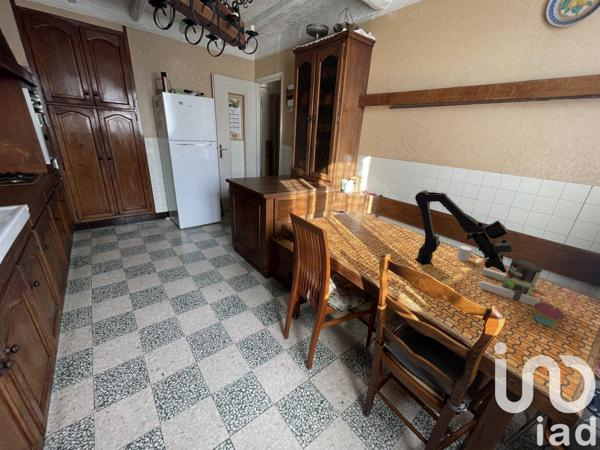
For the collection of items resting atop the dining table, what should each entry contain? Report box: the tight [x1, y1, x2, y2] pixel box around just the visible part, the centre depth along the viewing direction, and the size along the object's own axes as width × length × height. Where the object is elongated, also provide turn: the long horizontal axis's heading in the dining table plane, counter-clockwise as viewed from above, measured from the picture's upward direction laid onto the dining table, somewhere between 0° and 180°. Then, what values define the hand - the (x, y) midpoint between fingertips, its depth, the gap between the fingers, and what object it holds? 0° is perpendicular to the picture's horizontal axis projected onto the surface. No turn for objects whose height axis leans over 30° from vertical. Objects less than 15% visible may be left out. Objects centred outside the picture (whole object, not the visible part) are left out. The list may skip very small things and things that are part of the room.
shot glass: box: [456, 244, 474, 262], centre depth 137 cm, size 7×7×7 cm
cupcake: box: [531, 296, 565, 327], centre depth 90 cm, size 9×8×12 cm
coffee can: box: [501, 257, 544, 296], centre depth 108 cm, size 10×10×14 cm
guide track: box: [478, 267, 541, 306], centre depth 112 cm, size 20×18×4 cm
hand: (505, 272), depth 111 cm, fingers closed
